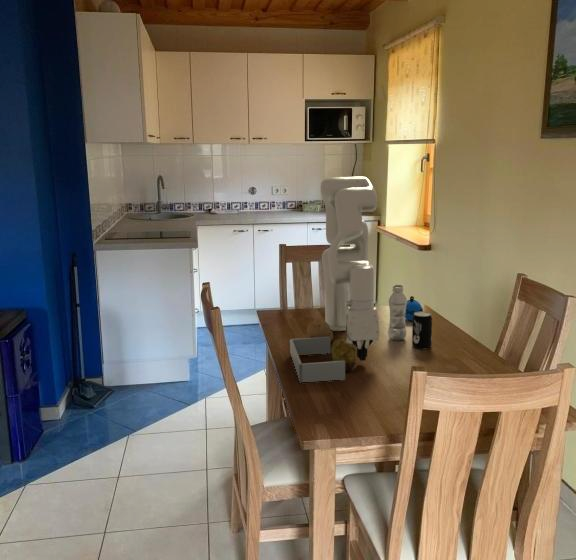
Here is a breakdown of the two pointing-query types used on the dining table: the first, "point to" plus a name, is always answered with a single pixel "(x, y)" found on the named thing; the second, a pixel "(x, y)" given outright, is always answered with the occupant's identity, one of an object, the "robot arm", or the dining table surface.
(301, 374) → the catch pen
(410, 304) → the ornament
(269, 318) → the dining table surface
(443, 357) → the dining table surface
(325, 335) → the natural sponge
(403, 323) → the plastic bottle
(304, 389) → the dining table surface
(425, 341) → the beverage can
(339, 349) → the potato
